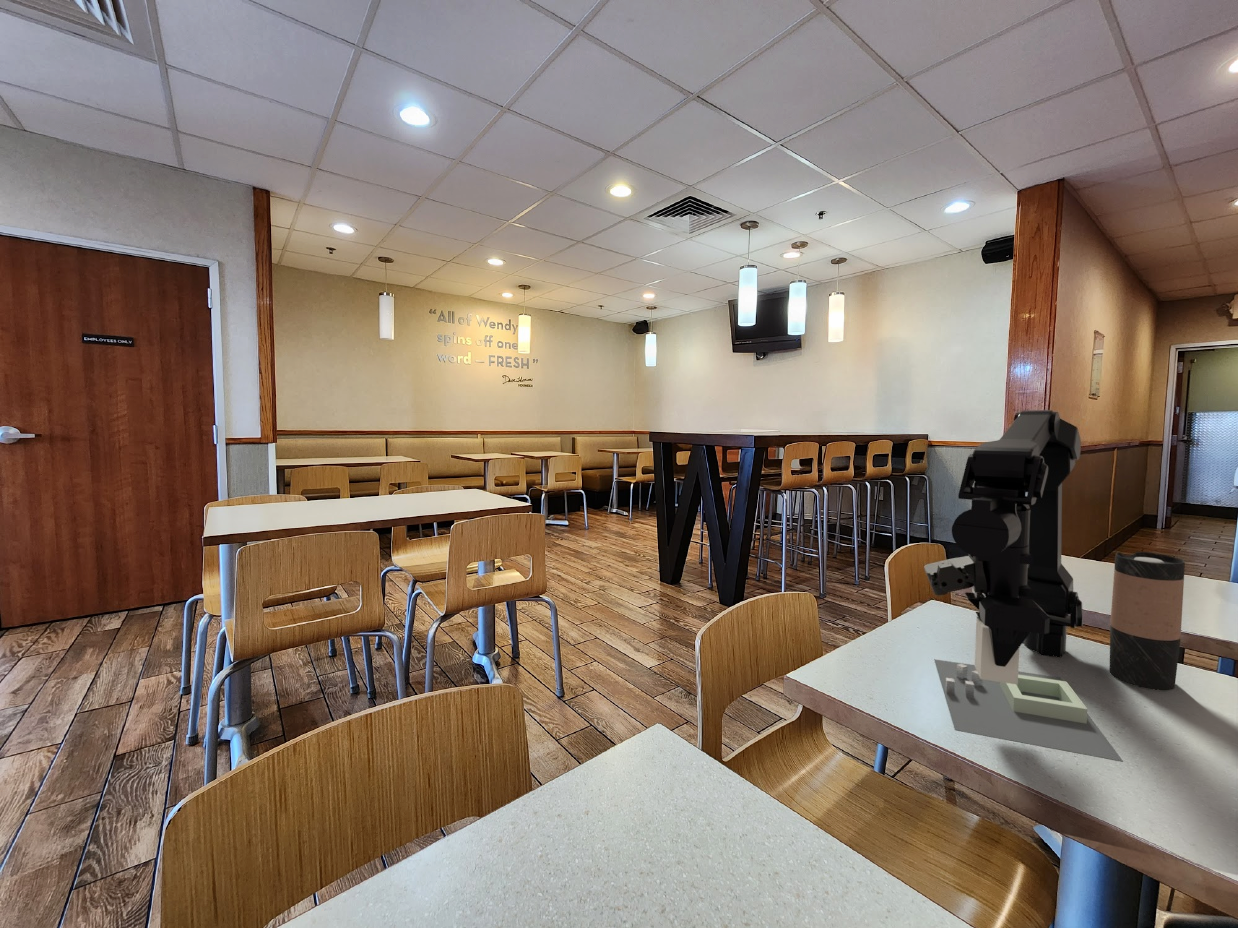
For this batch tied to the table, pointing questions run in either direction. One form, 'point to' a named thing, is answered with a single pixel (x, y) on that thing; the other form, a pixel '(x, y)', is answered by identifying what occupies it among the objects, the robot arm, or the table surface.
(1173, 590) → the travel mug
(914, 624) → the table surface
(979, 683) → the set of small cubes
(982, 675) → the beige rectangular block
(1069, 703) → the end holder
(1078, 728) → the mat
